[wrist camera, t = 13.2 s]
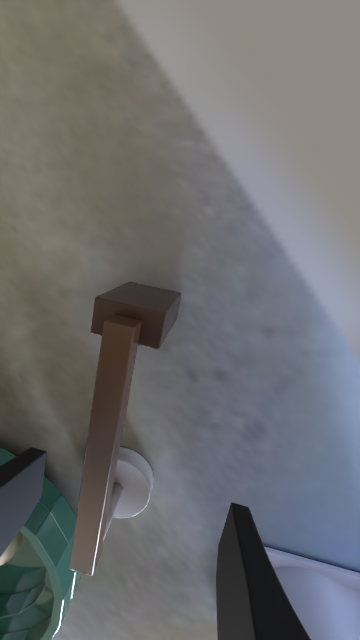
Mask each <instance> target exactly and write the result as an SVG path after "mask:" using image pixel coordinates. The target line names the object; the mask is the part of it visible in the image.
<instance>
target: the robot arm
mask: <svg viewBox="0 0 360 640" xmlns="http://www.w3.org/2000/svg"><path fill="white" fill-rule="evenodd" d="M45 461H46V451H42V450H39V449H35V448H30V449H28V450H27V451H25V452H23V453H21V454H20V455H18V456H16V457H15V458H13V459H11V460H10V461H8V462H6V463H5V464H3V465H1V466H0V557H1V555H2V554H3V553H4V551H5V550H6V549H7V547H8V546H9V545H10V543H11V542H12V541H13V539H14V538H15V536H16V535H17V534H18V532H19V531H20V530H21V528H22V527H23V525H24V524H25V523H26V521H27V520H28V518H29V516H30V515H31V513H32V511H33V510H34V508H35V506H36V504H37V503H38V501H39V499H40V497H41V496H42V489H43V480H44V471H45ZM216 590H217V631H218V640H360V573H358V572H354V571H351V570H347V569H343V568H340V567H336V566H333V565H329V564H325V563H322V562H318V561H315V560H311V559H308V558H304V557H300V556H297V555H293V554H290V553H286V552H282V551H279V550H275V549H272V548H268V547H264V546H263V543H262V541H261V538H260V536H259V533H258V531H257V528H256V525H255V523H254V520H253V517H252V514H251V511H250V509H249V508H248V507H246V506H242V505H239V504H235V503H231V506H230V509H229V513H228V516H227V519H226V523H225V526H224V529H223V533H222V536H221V539H220V543H219V547H218V560H217V575H216Z"/></svg>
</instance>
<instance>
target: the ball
mask: <svg viewBox="0 0 360 640" xmlns="http://www.w3.org/2000/svg"><path fill="white" fill-rule="evenodd" d="M21 541H22V533H21V532H20V531H19V532H18V534H17V535H16V536H15V538H14V539H13V541H12V542H11V543H10V545H9V546H8V547H7V549H6V550H5V551H4V553H3V554H2V555H1V557H0V566H1V565H3V564H5V563H6V562H8V561H9V560H10V559H11V558H12V557H13V556H14V555H15V554H16V552H17V551H18V549H19V547H20V544H21Z"/></svg>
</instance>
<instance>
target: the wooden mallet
mask: <svg viewBox="0 0 360 640" xmlns="http://www.w3.org/2000/svg"><path fill="white" fill-rule="evenodd" d="M180 299H181V293H178V292H173V291H169V290H164V289H160V288H155V287H151V286H146V285H142V284H137V283H133V282H128V283H126V284H124V285H122V286H120V287H117V288H115V289H113V290H111V291H108V292H106V293H104V294H102V295H100V296H97V297H96V298H95V304H94V311H93V319H92V326H91V333H92V334H96V335H100V336H102V341H101V348H100V355H99V362H98V369H97V376H96V383H95V390H94V397H93V404H92V411H91V418H90V425H89V432H88V439H87V446H86V453H85V460H84V467H83V474H82V481H81V488H80V495H79V502H78V509H77V516H76V523H75V530H74V537H73V544H72V551H71V558H70V565H69V569H70V570H74V571H77V572H80V573H84V574H87V575H91V576H92V575H93V573H94V571H95V568H96V565H97V563H98V560H99V558H100V555H101V552H102V546H103V541H104V538H105V536H106V533H107V531H108V528H109V526H110V523H111V521H112V518H113V517H115V518H128V517H132V516H134V515H136V514H138V513H140V512H141V511H142V510H143V509H144V508H145V507H146V505H147V503H148V501H149V498H150V495H151V491H152V488H153V483H154V477H153V472H152V469H151V467H150V465H149V464H148V462H147V461H146V460H145V459H144V458H143V457H142V456H141V455H140V454H138V453H137V452H135V451H133V450H131V449H127V448H123V447H120V443H121V438H122V432H123V426H124V421H125V415H126V409H127V404H128V398H129V392H130V386H131V381H132V375H133V369H134V364H135V358H136V352H137V347H138V345H142V346H146V347H150V348H154V349H159V348H160V347H161V345H162V343H163V342H164V340H165V338H166V337H167V335H168V333H169V331H170V330H171V328H172V326H173V325H174V323H175V321H176V318H177V314H178V309H179V304H180Z"/></svg>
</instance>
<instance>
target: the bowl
mask: <svg viewBox="0 0 360 640" xmlns="http://www.w3.org/2000/svg"><path fill="white" fill-rule="evenodd" d="M15 457H16V455H14V454H12V453H11V452H9V451H7V450H5V449H3V448H0V466H1V465H3V464H5V463H6V462H8V461H10V460H11V459H13V458H15ZM75 523H76V516H75V514H74V512H73V511H72V509H71V507H70V506H69V504H68V502H67V501H66V499H65V497H64V495H63V494H62V493H61V491H60V490H59V489H58V488H57V487H56V486H55V485H53V484H52V483H51V482H50V481H49V480H48V479H47V478H46V477H45V476H44V480H43V489H42V496H41V497H40V499H39V501H38V503H37V504H36V506H35V508H34V510H33V511H32V513H31V515H30V516H29V518H28V520H27V521H26V523H25V524H24V525H23V527H22V528H21V530H20V532H21V533H22V541H21V544H20V547H19V549H18V551H17V552H16V554H15V555H14V556H13V557H12V558H11V559H10V560H9V561H8V562H6V563H5V564H3V565H1V566H0V640H51V639H52V638H53V636H54V635H55V633H56V632H57V630H58V629H59V628H60V625H61V623H62V621H63V618H64V616H65V613H66V611H67V609H68V606H69V604H70V601H71V599H72V597H73V594H74V592H75V590H76V587H77V585H78V583H79V580H80V578H81V575H82V573H80V572H77V571H74V570H70V569H69V565H70V558H71V551H72V544H73V537H74V530H75Z"/></svg>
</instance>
